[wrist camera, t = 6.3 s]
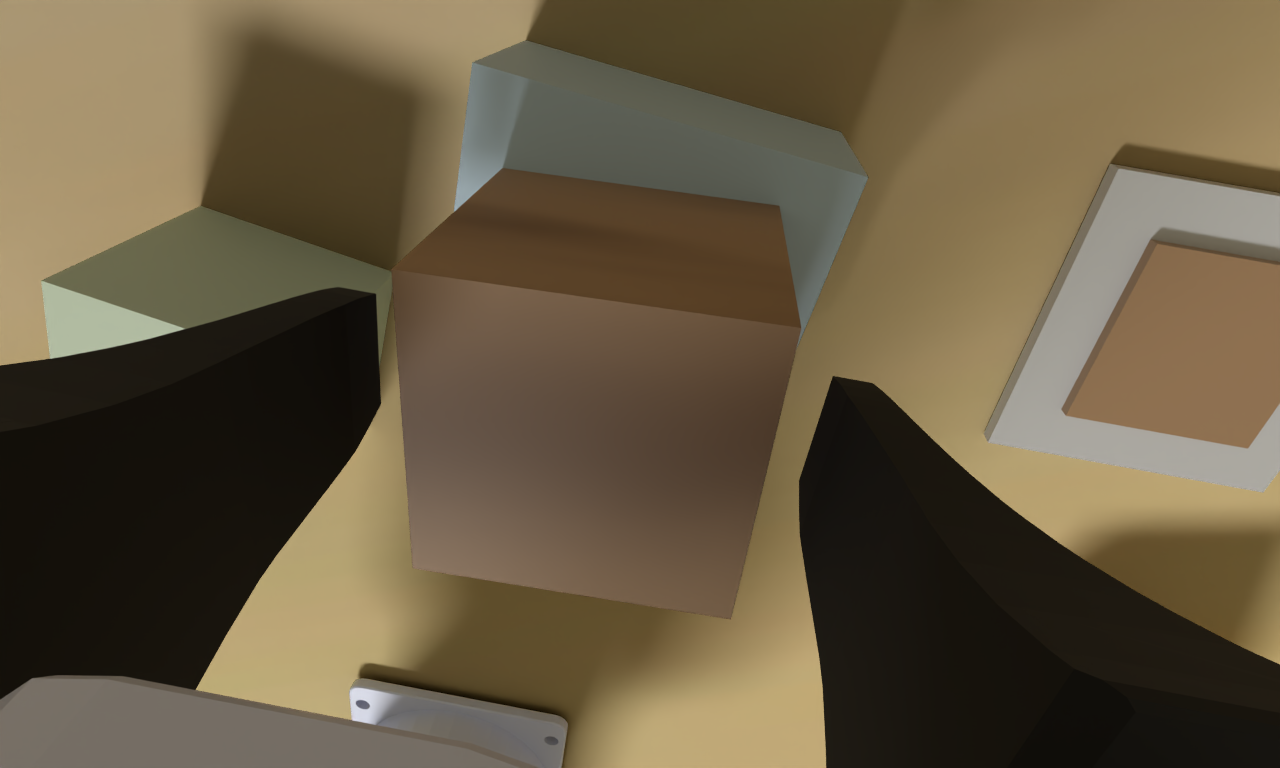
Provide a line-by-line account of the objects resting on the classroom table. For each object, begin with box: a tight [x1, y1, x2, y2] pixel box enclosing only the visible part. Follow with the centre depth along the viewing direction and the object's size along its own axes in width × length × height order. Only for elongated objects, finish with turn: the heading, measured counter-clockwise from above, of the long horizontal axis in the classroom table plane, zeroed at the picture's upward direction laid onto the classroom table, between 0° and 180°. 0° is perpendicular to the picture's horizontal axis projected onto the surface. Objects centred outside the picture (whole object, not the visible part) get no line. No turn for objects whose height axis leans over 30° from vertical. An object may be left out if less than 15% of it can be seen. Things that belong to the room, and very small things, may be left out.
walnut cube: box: [391, 168, 801, 619], centre depth 12 cm, size 5×5×5 cm
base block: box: [454, 40, 868, 347], centre depth 16 cm, size 7×7×4 cm
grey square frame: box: [984, 164, 1280, 492], centre depth 17 cm, size 7×7×1 cm
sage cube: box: [41, 206, 393, 367], centre depth 18 cm, size 5×5×5 cm
